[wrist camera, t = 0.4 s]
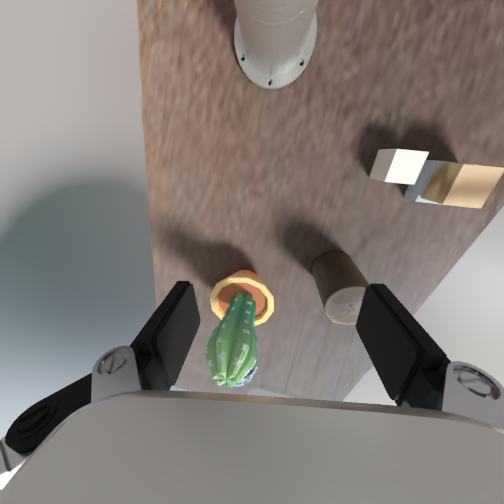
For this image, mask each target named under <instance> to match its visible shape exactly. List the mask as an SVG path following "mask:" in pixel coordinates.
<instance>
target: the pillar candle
mask: <svg viewBox="0 0 504 504" xmlns="http://www.w3.org/2000/svg"><path fill="white" fill-rule="evenodd" d="M312 273H313V276H314V279H315V282H316V285H317V288H318V291H319V294H320V297H321V300H322V303H323V306H324V309H325V312H326V314H327V316H328V317H329V318H330V319H331V320H332V321H333V322H335V323H338V324H346V325H348V324H356V322H357V319H358V315H359V311H360V307H361V304H362V300H363V296H364V293H365V289H366V287H367V286H369V284H368V282H367V281H366V279H365V278H364V276H363V275H362V273H361V272H360V271H359V269H358V268H357V266H356V265H355V264H354V262H353V261H352V259H351V258H350V257H349V256H348V255H346V254H345V253H343V252H340V251H339V252H338V251H330V252H326V253H323V254H322V255H320V256H319V257H318V258H317V259H316V260H315V261H314V263H313V266H312Z"/></svg>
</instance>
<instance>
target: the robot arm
mask: <svg viewBox="0 0 504 504" xmlns="http://www.w3.org/2000/svg"><path fill="white" fill-rule="evenodd" d="M317 3H318V0H234V4H235V9H236V13H237V16H236V21H235V28H234V44H235V50H236V55H237V58H238V61H239V64H240V66H241V68H242V70H243V72H244V73H245V75H246V76H247V77H248V78H249V80H250V81H251V82H253V83H254V84H255V85H257V86H259V87H261V88H264V89H269V90H274V89H280V88H283V87H286V86H287V85H289V84H291V83H292V82H293V81H294V80H296V79H297V78H298V77H299V76H300V74H301V73H302V72H303V71H304V69H305V67H306V65H307V64H308V62H309V59H310V57H311V55H312V52H313V49H314V45H315V40H316V34H317V19H316V11H315V10H316V6H317ZM242 58H245V60H244V61H242ZM300 63H303V65H302V66H300ZM269 82H271V85H269V84H268V83H269ZM199 325H200V316H199V311H198V306H197V302H196V297H195V293H194V288H193V284H190V282H189V281H178V282H177V283H176V284H175V285H174V287H173V288H172V290H171V291H170V292H169V294H168V295H167V296H166V298H165V299H164V300H163V302H162V303H161V305H160V306H159V307H158V308H157V309H156V311H155V312H154V313H153V315H152V316H151V318H150V319H149V320H148V322H147V323H146V325H145V326H144V327H143V328H142V330H141V331H140V333H139V334H138V335H137V337H136V338H135V339H134V341H133V342H132V344H131V345H130V346H119V347H116V348H113V349H111V350H109V351H108V352H106V353H105V354H104V355H102V356H101V357H100V358H99V359H98V360H97V362H96V363H95V365H94V367H93V371H92V373H90V374H89V375H87V376H85V377H83V378H81V379H80V380H77V381H76V382H74V383H72V384H70V385H68V386H66V387H65V388H63V389H61V390H59V391H57V392H55V393H54V394H52V395H50V396H48V397H46V398H44V399H42V400H41V401H39V402H37V403H36V404H34V405H33V406H31V407H29V408H28V409H27V410H26V411H24V412H23V413H22V414H21V415H20V416H19V417H18V418H17V419H16V420H15V421H14V422H13V424H12V425H11V427H10V428H9V429H8V432H7V434H6V436H5V437H3V438H2V439H1V440H0V504H504V388H503V387H502V385H501V384H500V383H499V382H498V381H497V380H496V379H495V378H493V377H492V376H491V375H489V374H488V373H486V372H485V371H483V370H481V369H479V368H478V367H476V366H473V365H471V364H468V363H464V362H460V361H457V362H451V361H450V360H449V359H448V358H447V357H446V356H447V355H446V354H445V353H444V352H443V350H442V349H441V348H440V347H439V346H438V345H437V344H436V342H435V341H434V340H433V339H432V338H431V337H430V336H429V334H428V333H427V332H426V331H425V330H424V329H423V328H422V326H421V325H420V324H419V323H418V322H417V321H416V320H415V319H414V317H413V316H412V315H411V314H410V313H409V312H408V310H407V309H406V308H405V307H404V306H403V305H402V304H401V302H400V301H399V300H398V299H397V298H396V297H395V296H394V294H393V293H392V292H391V291H390V290H389V289H388V288H387V286H386V285H384V284H370V285H369V286H367V287H366V289H365V293H364V296H363V300H362V304H361V307H360V311H359V315H358V319H357V322H356V329H357V332H358V334H359V336H360V338H361V340H362V342H363V344H364V346H365V348H366V350H367V352H368V354H369V356H370V358H371V360H372V362H373V365H374V367H375V369H376V371H377V372H378V375H379V377H380V379H381V381H382V383H383V385H384V387H385V389H386V391H387V393H388V395H389V397H390V398H391V399H392V400H395V402H396V404H397V406H390V405H380V404H365V403H352V402H339V401H326V400H312V399H298V398H283V397H268V396H254V395H239V394H223V393H207V392H190V391H169V390H170V388H171V385H174V384H175V383H176V381H177V378H178V376H179V373H180V371H181V369H182V366H183V364H184V361H185V359H186V357H187V354H188V352H189V349H190V347H191V344H192V342H193V340H194V337H195V335H196V332H197V330H198V328H199Z"/></svg>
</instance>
